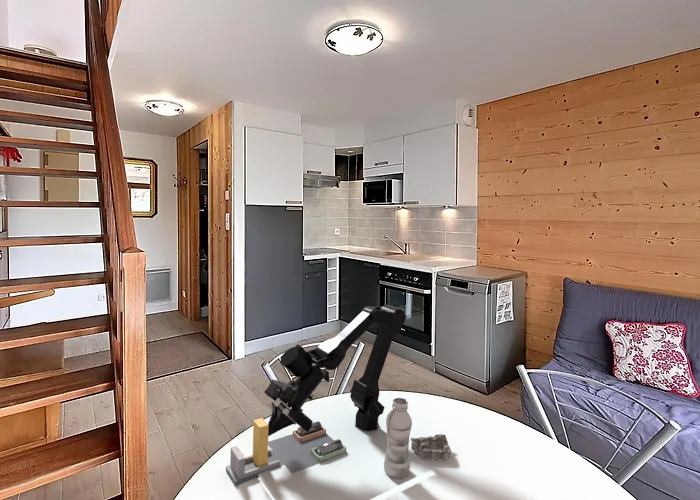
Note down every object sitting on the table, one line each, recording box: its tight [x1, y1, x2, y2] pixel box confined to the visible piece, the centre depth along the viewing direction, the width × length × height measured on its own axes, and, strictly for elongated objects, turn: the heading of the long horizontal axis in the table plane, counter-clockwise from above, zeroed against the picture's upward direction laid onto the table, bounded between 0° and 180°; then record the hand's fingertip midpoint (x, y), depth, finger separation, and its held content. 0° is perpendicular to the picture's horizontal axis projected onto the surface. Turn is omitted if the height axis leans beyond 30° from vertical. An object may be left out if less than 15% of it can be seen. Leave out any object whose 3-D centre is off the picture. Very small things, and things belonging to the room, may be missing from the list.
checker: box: [225, 425, 348, 486], centre depth 109 cm, size 30×16×6 cm, turn 125°
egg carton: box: [410, 433, 452, 461], centre depth 114 cm, size 11×8×4 cm
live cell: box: [317, 438, 343, 457], centre depth 110 cm, size 7×3×3 cm, turn 125°
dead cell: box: [297, 420, 322, 437], centre depth 119 cm, size 7×3×3 cm, turn 125°
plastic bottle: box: [383, 397, 413, 480], centre depth 103 cm, size 6×7×20 cm
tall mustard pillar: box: [252, 417, 269, 467], centre depth 104 cm, size 2×4×11 cm, turn 36°
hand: (265, 435), depth 105 cm, fingers closed, pressing on tall mustard pillar
